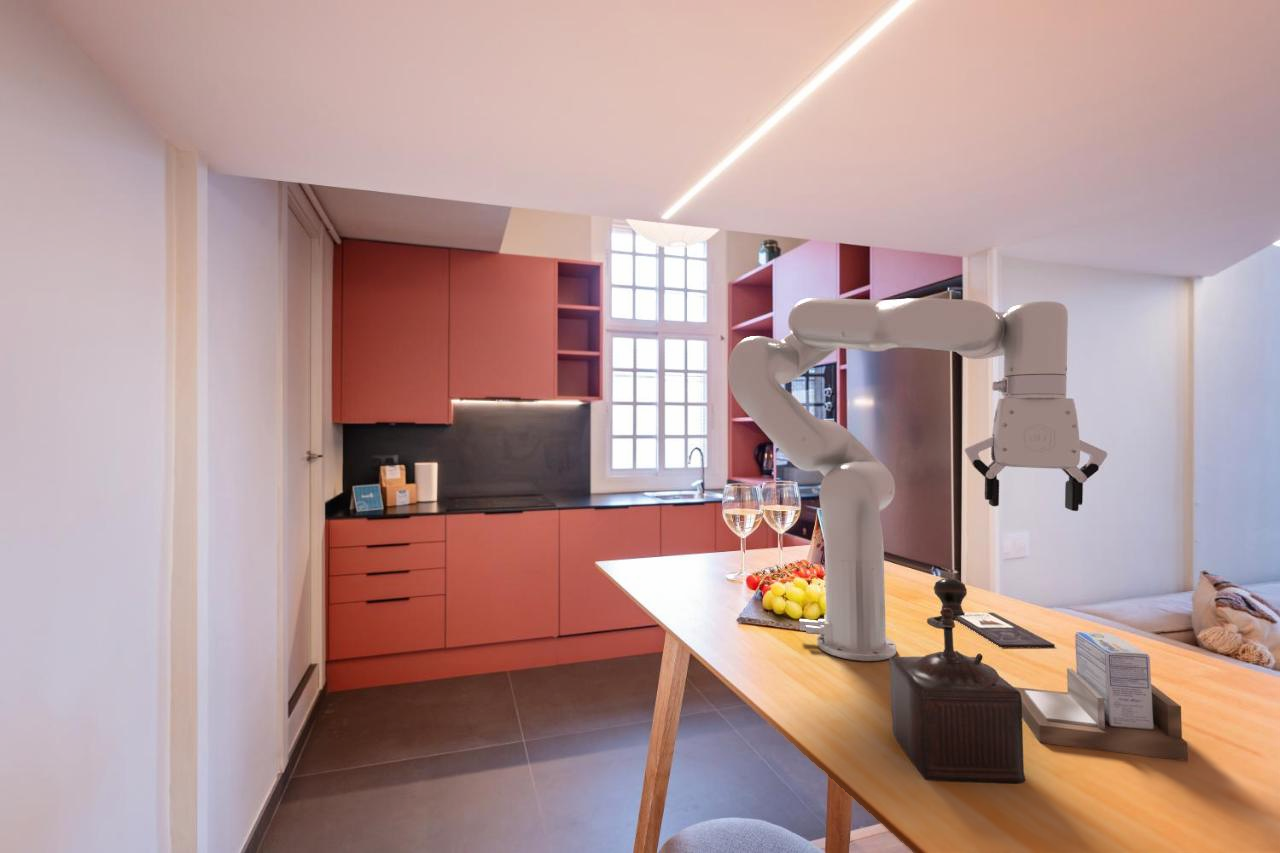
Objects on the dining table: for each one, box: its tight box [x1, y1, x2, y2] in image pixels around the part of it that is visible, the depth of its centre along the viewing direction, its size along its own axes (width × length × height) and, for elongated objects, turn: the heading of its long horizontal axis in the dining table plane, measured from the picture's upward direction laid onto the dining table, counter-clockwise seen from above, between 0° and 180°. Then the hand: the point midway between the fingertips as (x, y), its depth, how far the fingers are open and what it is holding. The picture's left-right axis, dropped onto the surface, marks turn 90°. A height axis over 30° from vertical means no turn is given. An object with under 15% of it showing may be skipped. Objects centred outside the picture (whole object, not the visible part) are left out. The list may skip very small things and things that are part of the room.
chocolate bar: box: [955, 612, 1056, 649], centre depth 107 cm, size 9×1×18 cm
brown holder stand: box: [1013, 668, 1189, 762], centre depth 71 cm, size 14×11×6 cm
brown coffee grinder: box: [889, 578, 1026, 784], centre depth 68 cm, size 16×11×18 cm
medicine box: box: [1074, 631, 1154, 730], centre depth 71 cm, size 8×4×9 cm, turn 166°
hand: (1031, 507), depth 84 cm, fingers open, 9 cm apart
